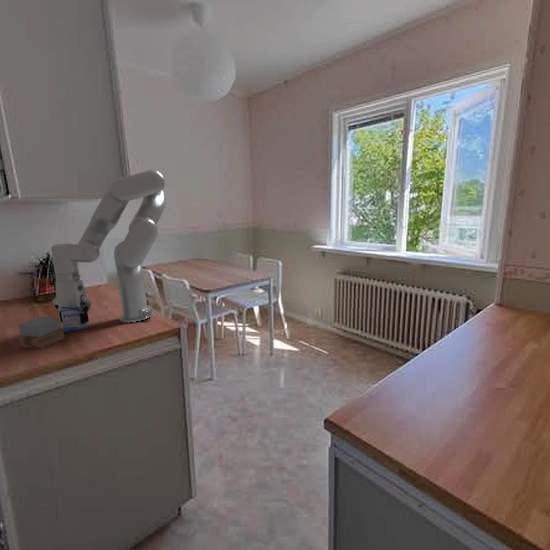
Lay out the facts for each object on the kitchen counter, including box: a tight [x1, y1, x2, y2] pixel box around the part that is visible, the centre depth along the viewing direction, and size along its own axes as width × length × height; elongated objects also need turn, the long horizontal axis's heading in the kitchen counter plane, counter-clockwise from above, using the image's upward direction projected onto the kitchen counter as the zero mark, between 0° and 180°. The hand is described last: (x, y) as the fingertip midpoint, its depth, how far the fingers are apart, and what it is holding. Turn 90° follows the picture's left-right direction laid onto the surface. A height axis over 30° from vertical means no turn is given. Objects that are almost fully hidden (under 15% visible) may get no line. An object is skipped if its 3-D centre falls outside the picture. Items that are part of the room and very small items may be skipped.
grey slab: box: [18, 316, 61, 337], centre depth 117 cm, size 8×8×4 cm
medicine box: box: [61, 307, 89, 334], centre depth 129 cm, size 8×4×9 cm, turn 119°
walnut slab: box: [18, 327, 65, 350], centre depth 118 cm, size 9×9×4 cm
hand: (74, 321), depth 129 cm, fingers closed on medicine box, 8 cm apart
